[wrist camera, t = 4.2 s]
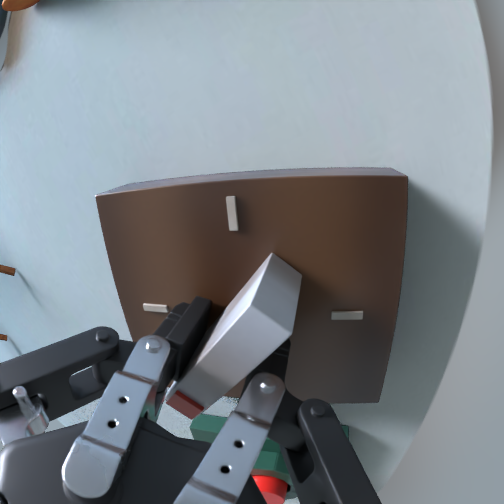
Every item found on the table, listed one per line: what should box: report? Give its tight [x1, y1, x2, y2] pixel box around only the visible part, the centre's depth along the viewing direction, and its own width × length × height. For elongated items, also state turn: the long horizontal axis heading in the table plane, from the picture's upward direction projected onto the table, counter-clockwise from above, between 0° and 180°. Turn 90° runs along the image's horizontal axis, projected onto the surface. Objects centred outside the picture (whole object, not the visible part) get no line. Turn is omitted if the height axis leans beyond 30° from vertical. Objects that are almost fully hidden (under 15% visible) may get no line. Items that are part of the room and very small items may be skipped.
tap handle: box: [164, 253, 302, 420], centre depth 12 cm, size 6×2×4 cm, turn 145°
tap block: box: [95, 167, 408, 403], centre depth 15 cm, size 14×12×3 cm
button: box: [252, 475, 288, 504], centre depth 19 cm, size 4×4×2 cm
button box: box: [190, 414, 349, 499], centre depth 21 cm, size 12×10×4 cm
